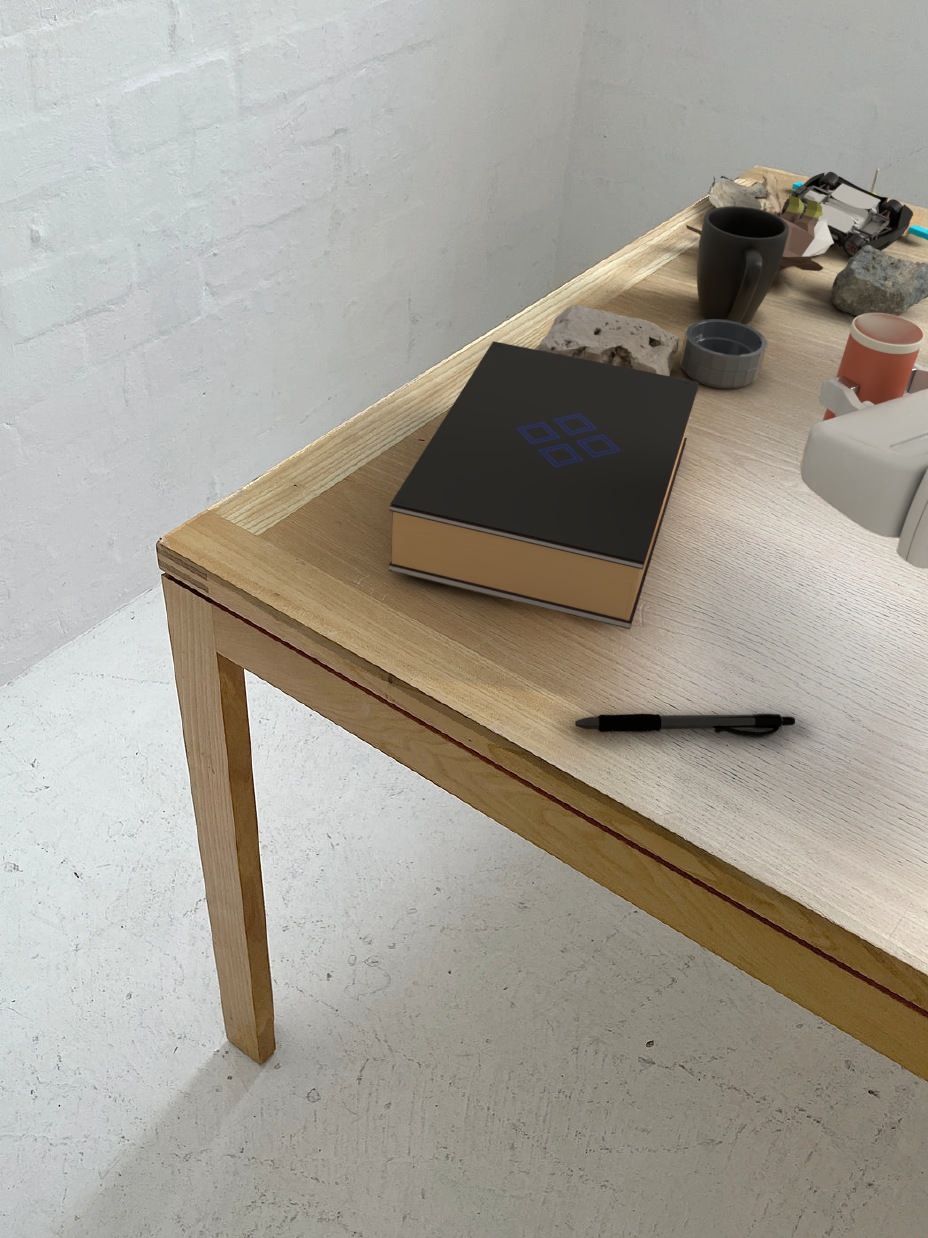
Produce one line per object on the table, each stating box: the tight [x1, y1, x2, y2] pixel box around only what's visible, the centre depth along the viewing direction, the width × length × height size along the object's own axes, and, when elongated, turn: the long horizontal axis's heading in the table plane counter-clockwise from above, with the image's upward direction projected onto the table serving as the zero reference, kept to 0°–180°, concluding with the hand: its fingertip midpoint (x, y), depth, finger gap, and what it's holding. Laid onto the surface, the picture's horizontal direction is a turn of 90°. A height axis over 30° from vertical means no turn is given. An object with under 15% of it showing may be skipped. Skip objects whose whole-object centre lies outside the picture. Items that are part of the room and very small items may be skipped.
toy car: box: [781, 171, 914, 258], centre depth 131 cm, size 7×15×4 cm, turn 37°
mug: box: [696, 206, 789, 325], centre depth 111 cm, size 8×12×10 cm
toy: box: [685, 195, 835, 272], centre depth 122 cm, size 16×16×7 cm
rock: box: [830, 245, 928, 317], centre depth 118 cm, size 12×10×5 cm
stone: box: [534, 304, 680, 376], centre depth 103 cm, size 13×6×10 cm
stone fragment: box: [695, 171, 782, 240], centre depth 135 cm, size 19×8×5 cm
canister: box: [822, 313, 926, 421], centre depth 75 cm, size 4×4×10 cm
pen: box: [574, 712, 796, 739], centre depth 70 cm, size 14×2×1 cm, turn 95°
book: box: [388, 341, 700, 630], centre depth 85 cm, size 17×25×7 cm
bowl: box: [679, 319, 768, 390], centre depth 105 cm, size 7×7×4 cm
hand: (859, 378), depth 75 cm, fingers closed on canister, 4 cm apart
